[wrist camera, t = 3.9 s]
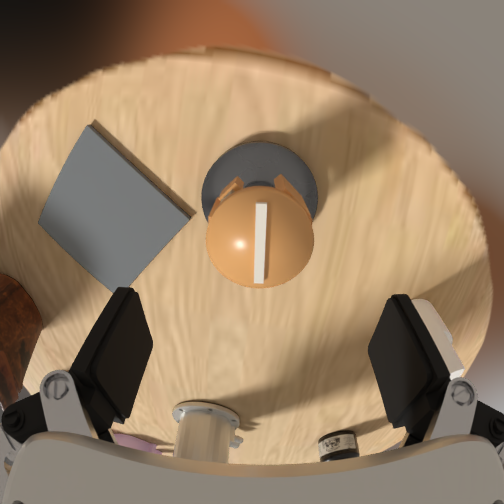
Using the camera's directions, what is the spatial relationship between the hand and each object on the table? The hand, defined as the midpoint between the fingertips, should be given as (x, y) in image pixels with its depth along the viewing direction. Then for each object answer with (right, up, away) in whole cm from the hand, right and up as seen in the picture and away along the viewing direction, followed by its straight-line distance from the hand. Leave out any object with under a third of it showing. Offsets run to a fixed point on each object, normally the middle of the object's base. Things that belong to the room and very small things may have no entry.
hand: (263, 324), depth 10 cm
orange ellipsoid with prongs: (0, +6, +11) cm, 12 cm away
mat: (-16, +6, +16) cm, 23 cm away
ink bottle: (+19, -40, +41) cm, 60 cm away
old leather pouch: (-41, -6, +23) cm, 48 cm away
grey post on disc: (0, +8, +15) cm, 16 cm away
